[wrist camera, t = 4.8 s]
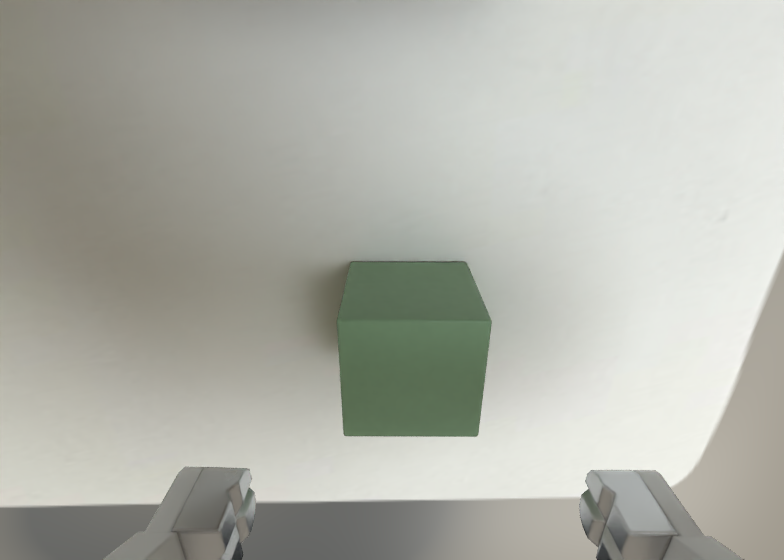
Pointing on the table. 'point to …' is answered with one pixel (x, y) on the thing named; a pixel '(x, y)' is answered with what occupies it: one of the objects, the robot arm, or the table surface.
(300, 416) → the table surface
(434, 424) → the block
